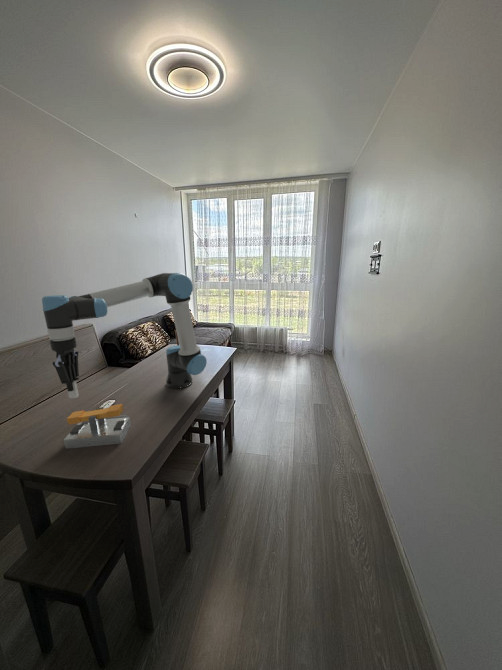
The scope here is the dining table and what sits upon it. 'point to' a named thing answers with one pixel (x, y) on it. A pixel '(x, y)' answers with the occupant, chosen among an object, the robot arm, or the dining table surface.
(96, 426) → the grey bracketed base
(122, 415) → the grey rod
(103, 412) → the lever
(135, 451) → the dining table surface
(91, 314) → the robot arm
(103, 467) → the dining table surface
